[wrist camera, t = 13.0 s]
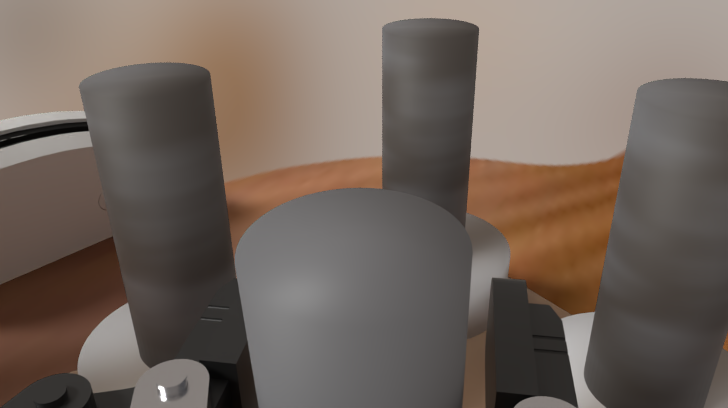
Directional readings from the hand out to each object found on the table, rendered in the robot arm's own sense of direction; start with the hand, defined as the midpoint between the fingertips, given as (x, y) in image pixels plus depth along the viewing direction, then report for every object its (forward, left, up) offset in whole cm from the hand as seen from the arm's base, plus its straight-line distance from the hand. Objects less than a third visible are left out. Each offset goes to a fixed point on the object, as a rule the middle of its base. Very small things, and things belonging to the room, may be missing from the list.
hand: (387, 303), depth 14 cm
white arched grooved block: (-28, -5, -12) cm, 31 cm away
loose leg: (+2, -2, -8) cm, 9 cm away
